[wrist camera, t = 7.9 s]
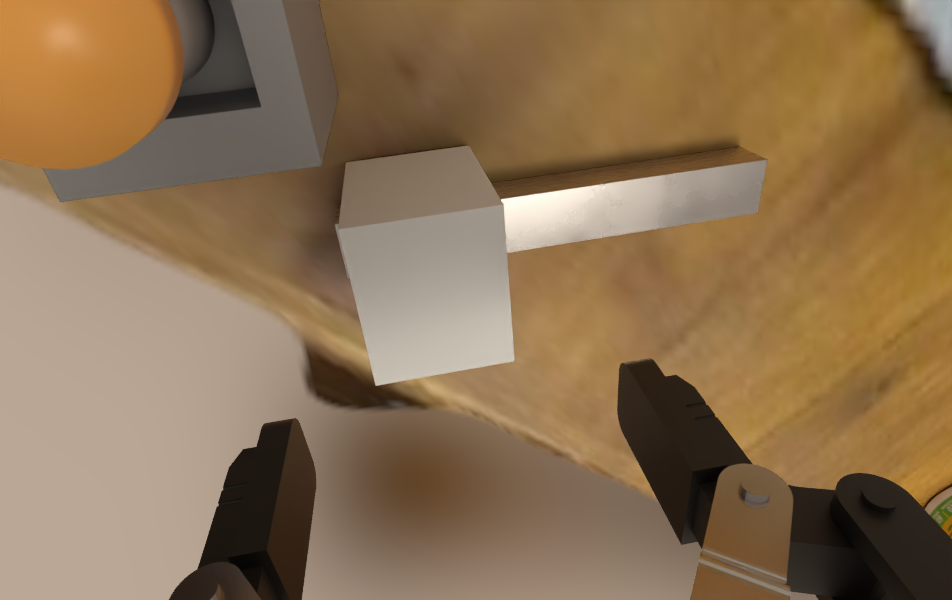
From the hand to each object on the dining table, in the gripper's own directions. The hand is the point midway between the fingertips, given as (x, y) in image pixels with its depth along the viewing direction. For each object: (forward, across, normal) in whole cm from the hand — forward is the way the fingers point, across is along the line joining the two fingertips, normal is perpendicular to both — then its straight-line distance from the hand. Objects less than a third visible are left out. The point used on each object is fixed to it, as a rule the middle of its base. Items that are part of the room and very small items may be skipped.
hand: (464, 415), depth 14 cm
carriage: (+12, 0, 0) cm, 12 cm away
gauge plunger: (+4, +6, -9) cm, 11 cm away
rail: (+12, -5, 0) cm, 13 cm away
